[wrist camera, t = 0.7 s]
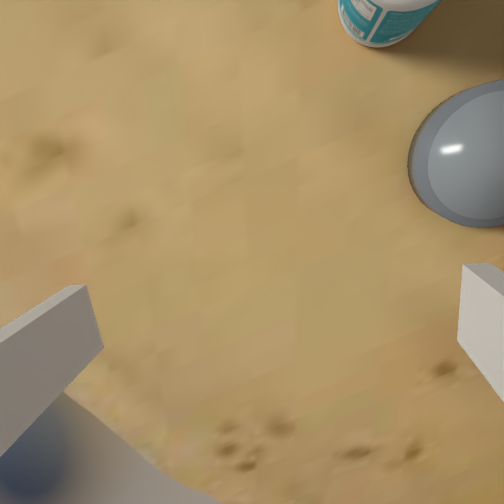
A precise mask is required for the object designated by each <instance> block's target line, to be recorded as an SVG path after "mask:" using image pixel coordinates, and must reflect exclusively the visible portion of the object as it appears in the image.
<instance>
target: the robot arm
mask: <svg viewBox="0 0 504 504" xmlns="http://www.w3.org/2000/svg"><path fill="white" fill-rule="evenodd" d="M457 341H458V342H459V344H460V345H461V346H462V348H463V349H464V350H465V352H466V353H467V354H468V356H469V357H470V358H471V360H472V361H473V362H474V364H475V365H476V366H477V367H478V369H479V370H480V371H481V373H482V374H483V375H484V377H485V378H486V379H487V381H488V382H489V383H490V385H491V386H492V387H493V389H494V390H495V391H496V393H497V394H498V395H499V396H500V398H501V399H502V400H503V402H504V272H503V271H501V270H500V269H498V268H497V267H495V266H494V265H492V264H491V263H477V264H463V270H462V283H461V296H460V309H459V322H458V335H457ZM103 348H104V346H103V342H102V339H101V335H100V332H99V328H98V325H97V321H96V318H95V314H94V311H93V307H92V304H91V300H90V297H89V293H88V290H87V286H86V285H72V286H67V287H65V288H64V289H62V290H61V291H59V292H57V293H56V294H54V295H53V296H51V297H49V298H48V299H46V300H45V301H43V302H42V303H40V304H38V305H37V306H35V307H34V308H32V309H30V310H29V311H27V312H26V313H24V314H23V315H21V316H19V317H18V318H16V319H15V320H13V321H11V322H10V323H8V324H7V325H5V326H4V327H2V328H0V457H1V456H2V454H3V453H4V452H5V451H6V450H7V449H8V448H9V447H10V446H11V445H12V444H13V443H14V442H15V441H16V440H17V439H18V438H19V437H20V436H21V434H22V433H23V432H24V431H25V430H26V429H27V428H28V427H29V426H30V425H31V424H32V423H33V422H34V420H36V418H38V417H39V415H40V414H41V413H42V412H43V411H44V410H45V409H46V408H47V407H48V406H49V405H50V404H51V403H52V402H53V401H54V400H55V399H56V397H57V396H58V395H59V394H60V393H61V392H62V391H63V390H64V389H65V388H66V387H67V386H68V385H69V384H70V383H71V382H72V381H73V380H74V379H75V378H76V376H77V375H78V374H79V373H80V372H81V371H82V370H83V369H84V368H85V367H86V366H87V365H88V364H89V363H90V362H91V361H92V360H93V359H94V357H95V356H96V355H97V354H98V353H99V352H100V351H101V350H102V349H103Z"/></svg>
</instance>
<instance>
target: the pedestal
mask: <svg viewBox="0 0 504 504" xmlns="http://www.w3.org/2000/svg"><path fill="white" fill-rule="evenodd" d="M407 167H408V176H409V180H410V183H411V186H412V189H413V191H414V192H415V194H416V196H417V197H418V198H419V200H420V201H421V202H422V203H423V204H424V205H425V206H426V207H427V208H429V209H430V210H432V211H433V212H435V213H437V214H438V215H440V216H442V217H444V218H446V219H448V220H450V221H452V222H454V223H457V224H460V225H464V226H469V227H479V228H480V227H493V226H500V225H503V224H504V80H497V81H493V82H488V83H485V84H482V85H479V86H476V87H473V88H469V89H467V90H464V91H461V92H459V93H457V94H455V95H453V96H451V97H449V98H448V99H446V100H444V101H443V102H442V103H440V104H439V105H438V106H437V107H435V108H434V109H433V110H432V111H431V112H430V113H429V114H428V115H427V117H426V118H425V119H424V120H423V122H422V123H421V124H420V126H419V128H418V129H417V131H416V133H415V135H414V137H413V139H412V142H411V145H410V149H409V154H408V164H407Z"/></svg>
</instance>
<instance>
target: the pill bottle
mask: <svg viewBox="0 0 504 504" xmlns="http://www.w3.org/2000/svg"><path fill="white" fill-rule="evenodd" d="M440 2H441V0H338V11H339V16H340V20H341V23H342V25H343V27H344V29H345V31H346V32H347V33H348V35H349V36H350V37H351V38H352V39H354V40H355V41H356V42H358V43H360V44H362V45H364V46H368V47H386V46H390V45H392V44H395V43H397V42H399V41H401V40H402V39H404V38H405V37H407V36H408V35H409V34H410V33H411V32H412V31H413V30H414V29H415V28H416V27H417V26H418V25H419V24H420V23H421V22H422V21H423V20H424V19H425V18H426V17H427V16H428V14H429V13H430V12H431V11H432V10H433V9H434V8H435V7H436V6H437V5H438V4H439V3H440Z"/></svg>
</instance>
